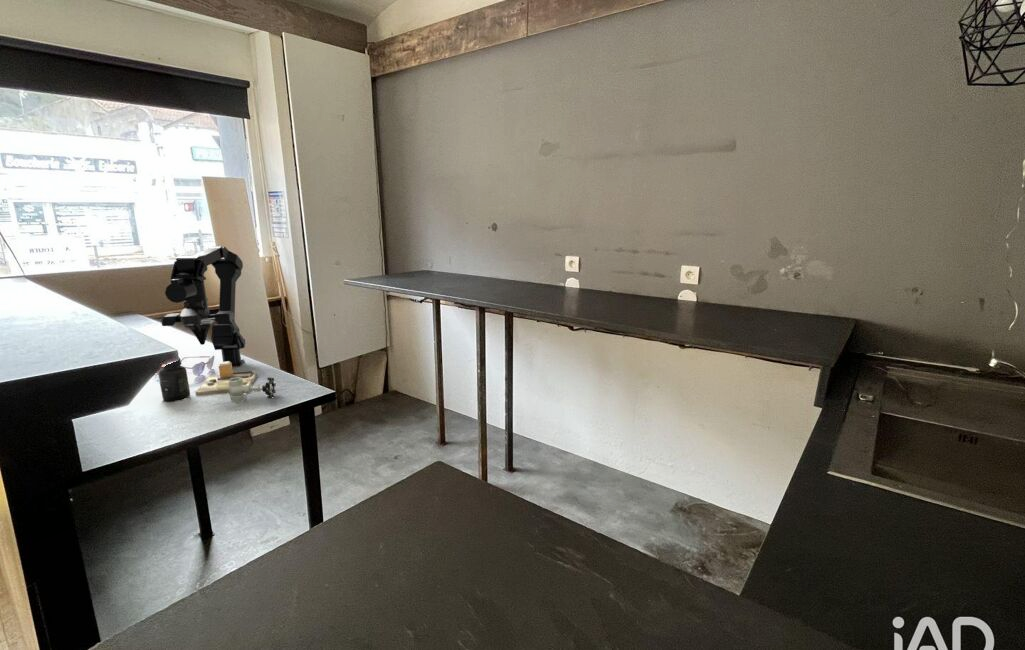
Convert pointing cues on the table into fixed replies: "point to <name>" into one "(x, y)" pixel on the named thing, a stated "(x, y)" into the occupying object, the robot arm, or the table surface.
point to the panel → (224, 383)
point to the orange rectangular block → (225, 369)
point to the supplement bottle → (174, 382)
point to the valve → (249, 389)
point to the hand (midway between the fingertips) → (202, 344)
